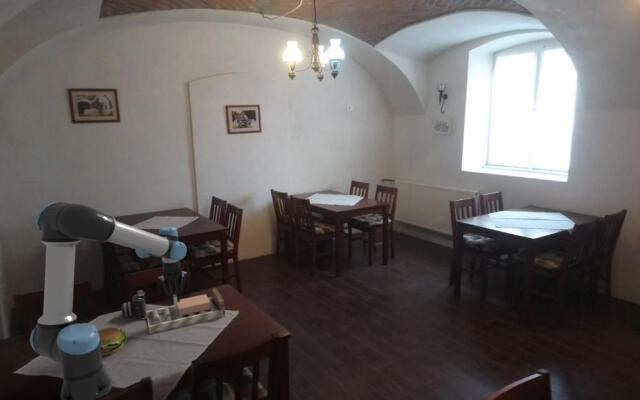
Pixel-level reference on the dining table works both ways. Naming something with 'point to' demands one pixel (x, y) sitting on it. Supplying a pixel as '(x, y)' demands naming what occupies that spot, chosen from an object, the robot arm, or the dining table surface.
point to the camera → (135, 306)
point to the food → (111, 340)
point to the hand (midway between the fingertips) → (176, 309)
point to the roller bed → (171, 318)
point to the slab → (193, 305)
